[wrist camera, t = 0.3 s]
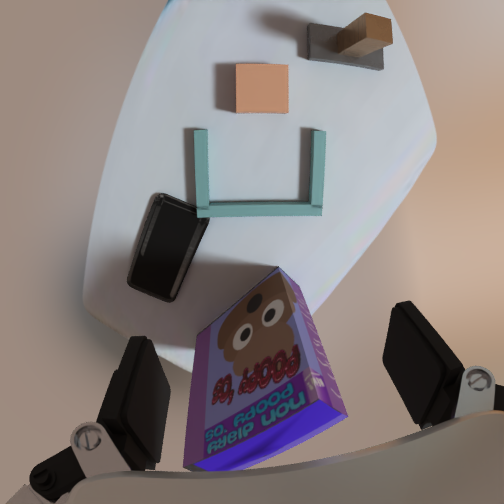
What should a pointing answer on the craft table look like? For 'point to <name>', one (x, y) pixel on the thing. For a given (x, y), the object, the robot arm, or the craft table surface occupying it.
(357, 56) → the pusher
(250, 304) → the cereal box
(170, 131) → the craft table surface
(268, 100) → the tile
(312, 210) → the frame
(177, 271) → the phone
